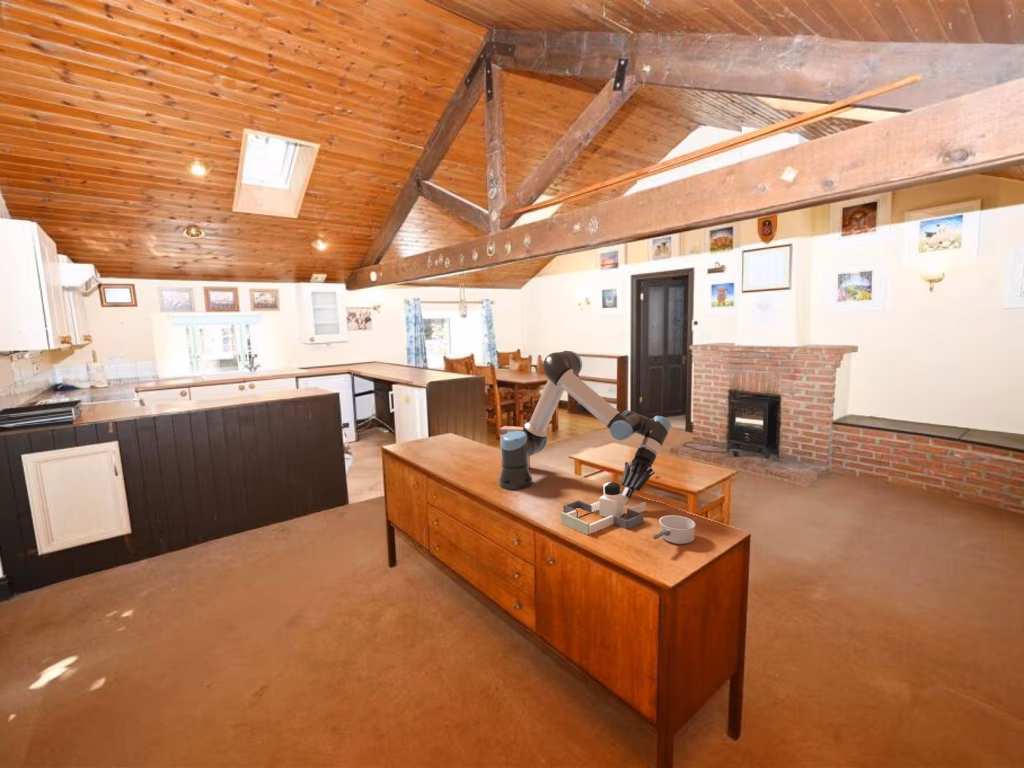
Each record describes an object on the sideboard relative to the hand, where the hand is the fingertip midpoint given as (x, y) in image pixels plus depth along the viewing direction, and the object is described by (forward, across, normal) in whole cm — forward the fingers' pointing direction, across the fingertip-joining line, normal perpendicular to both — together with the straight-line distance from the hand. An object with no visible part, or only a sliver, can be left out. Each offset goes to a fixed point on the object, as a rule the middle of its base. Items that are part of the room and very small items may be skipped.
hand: (621, 503), depth 173 cm
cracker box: (-2, +73, -8) cm, 73 cm away
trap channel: (+7, +2, +2) cm, 7 cm away
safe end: (+18, +2, +14) cm, 23 cm away
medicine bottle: (+5, +1, 0) cm, 5 cm away
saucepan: (+8, -26, +2) cm, 27 cm away
